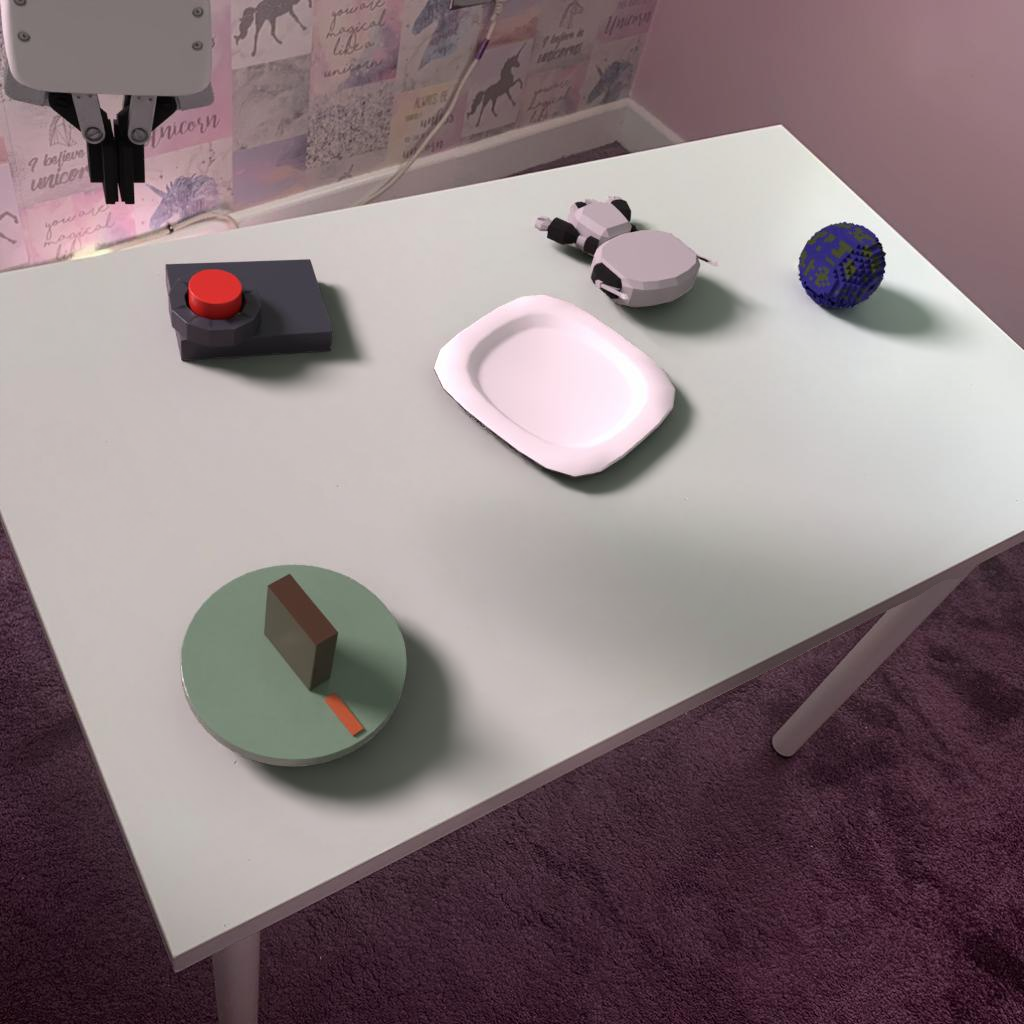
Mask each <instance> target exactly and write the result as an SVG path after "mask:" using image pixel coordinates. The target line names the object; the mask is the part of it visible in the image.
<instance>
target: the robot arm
mask: <svg viewBox="0 0 1024 1024" xmlns="http://www.w3.org/2000/svg"><path fill="white" fill-rule="evenodd" d="M0 24H1V30H2V36H3V44H4V47H5V53H6V57H5V58H6V59H5V65H4V70H3V76H2V77H3V87H4V93H5V95H6V96H7V97H8V98H9V99H11V100H13V101H17V102H20V103H21V102H22V103H26V104H29V105H34V106H39V107H43V108H44V107H49V108H51V109H52V110H53V111H54V112H55V113H56V114H57V115H59V116H61V117H62V118H63V119H64V120H65V121H67V123H69V124H70V125H72V127H74V128H75V129H77V130H78V131H79V132H80V133H81V136H82V138H83V140H84V141H85V143H86V157H87V170H88V176H89V181H90V182H89V183H91V184H101V185H102V191H103V195H104V201H105V205H116V203H120V201H121V203H124V204H125V205H135V204H136V201H135V200H136V199H135V184H146V161H145V160H146V159H145V144H147V143H148V142H149V141H150V139H151V136H152V132H153V131H154V130H156V129H157V128H158V127H159V126H161V125H162V124H163V123H165V121H166V120H167V119H169V118H170V117H171V116H172V115H174V114H175V113H176V111H180V110H181V112H184V111H188V110H194V109H199V108H205V107H209V106H211V105H212V104H214V102H215V94H214V89H213V85H212V82H211V81H212V80H211V78H212V71H213V33H212V32H213V31H212V7H211V0H0ZM99 95H110V96H112V95H115V96H122V102H121V103H122V104H121V110H119V111H118V112H117V113H116V118H113V119H112V120H111V118H109V116H108V113H107V111H105V110H104V108H101V104H100V99H99Z"/></svg>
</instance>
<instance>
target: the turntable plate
mask: <svg viewBox="0 0 1024 1024" xmlns="http://www.w3.org/2000/svg"><path fill="white" fill-rule="evenodd" d="M181 645H182V646H181V650H180V678H181V686H182V689H183V694H184V697H185V700H186V702H187V704H188V707H189V709H190V710H191V713H192V714H193V716H194V717H195V719H196V720H197V722H198V723H199V724H200V725H201V727H202V728H203V729H204V730H205V731H206V733H207V734H209V735H210V736H211V737H212V738H213V739H214V740H216V742H218V743H219V744H221V745H222V746H224V747H225V748H226V749H228V750H230V751H232V752H233V753H235V754H238V755H239V756H241V757H243V758H246V759H249V760H252V761H255V762H258V763H263V764H267V765H272V766H279V767H309V766H313V765H319V764H324V763H328V762H331V761H334V760H338V759H340V758H342V757H344V756H346V755H348V754H351V753H352V752H354V751H356V750H357V749H359V748H362V747H363V746H364V745H365V744H367V743H368V742H369V741H370V740H372V739H373V738H374V737H375V736H376V735H377V734H378V733H379V732H380V731H381V730H382V729H383V728H384V727H385V725H386V724H387V723H388V721H389V720H390V719H391V717H392V716H393V714H394V712H395V710H396V709H397V706H398V705H399V701H400V698H401V695H402V694H403V690H404V686H405V682H406V676H407V666H408V659H407V658H408V657H407V648H406V644H405V640H404V635H403V633H402V631H401V629H400V625H399V624H398V622H397V621H396V619H395V616H393V613H392V612H391V611H390V609H389V608H388V606H387V605H386V604H385V603H384V602H383V600H381V598H379V597H378V596H377V595H376V594H375V593H374V592H372V591H371V590H370V589H369V588H368V587H366V586H365V585H363V584H361V583H360V582H358V581H357V580H355V579H354V578H351V577H349V576H347V575H345V574H343V573H341V572H338V571H335V570H331V569H328V568H324V567H319V566H314V565H305V564H282V565H280V564H279V565H273V566H269V567H268V566H267V567H264V568H259V569H256V570H253V571H250V572H247V573H245V574H242V575H239V576H238V577H235V578H234V579H232V580H230V581H229V582H227V583H225V584H223V585H222V586H220V587H219V588H218V589H217V590H216V591H215V592H214V593H212V594H211V595H209V597H208V598H207V599H206V600H205V601H204V602H203V603H202V604H201V606H200V607H199V608H198V609H197V611H196V612H195V614H194V615H193V617H192V619H191V621H190V623H189V624H188V626H187V630H186V632H185V634H184V638H183V641H182V644H181Z"/></svg>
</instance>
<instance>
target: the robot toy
mask: <svg viewBox="0 0 1024 1024" xmlns="http://www.w3.org/2000/svg"><path fill="white" fill-rule="evenodd" d="M631 219H632V209H631V207H630V206H629V203H628V201H627V200H624V199H623V198H622V197H621V196H618V195H616V196H612V195H608V196H607V197H606V199H605V202H604V201H598V200H596V199H594V198H593V199H592V198H591V199H590V198H585V200H584V201H576V202H573V203H572V205H571V206H570V209H569V214H568V218H567V221H566V220H564V219H562V218H560V217H554V218H553V219H551V218H549V216H544V215H540V216H538V217H537V218H536V219H535V220H534V223H533V224H534V225H533V226H534V228H535V229H537V231H540V232H547V233H546V234H547V235H546V238H547V239H549V240H550V241H553V242H554V243H558V244H560V245H562V246H563V245H564V246H565V245H574V246H575V247H576V248H577V249H579V250H580V251H581V252H583V253H586V254H588V255H589V256H591V257H593V258H592V261H591V265H590V269H589V273H590V279H591V282H592V284H593V285H594V287H596V288H597V289H599V290H600V291H602V292H603V294H604V295H606V296H607V297H608V298H609V299H611V300H613V301H614V302H616V303H617V304H618V305H622V306H625V307H626V306H627V307H630V308H631V307H632V308H645V307H653V306H656V305H662V304H664V303H665V304H666V303H671V302H674V301H676V300H677V299H678V298H680V297H682V296H683V295H685V294H687V293H688V292H689V291H690V290H691V289H692V288H693V287H694V284H695V281H696V279H697V276H698V273H699V270H700V267H701V263H700V261H703V262H705V263H707V264H710V266H712V267H719V263H718V261H716V260H712V259H709V258H707V257H705V256H702V255H701V254H698V253H696V252H695V250H693V249H692V248H691V247H689V246H688V245H687V244H686V243H684V242H683V241H682V240H681V239H680V238H678V237H677V236H675V235H674V234H673V233H672V232H668V231H663V230H658V229H645V230H643V229H642V230H639V229H638V227H637V225H636V224H633V223H631Z"/></svg>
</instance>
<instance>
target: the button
mask: <svg viewBox="0 0 1024 1024" xmlns="http://www.w3.org/2000/svg"><path fill="white" fill-rule="evenodd" d="M189 305H190V307H191V309H192V310H193V311H194V312H195V313H196V314H197V315H199V316H201V317H204V318H207V319H210V320H223V319H229V318H231V317H233V316H235V315H236V314H237V313H238V312H239V311H240V309H241V306H242V285H241V283H240V281H239V280H238V279H237V278H236V277H235V276H234V275H232V274H231V273H229V272H226V271H222V270H216V269H210V270H204V271H201V272H198V273H196V274H195V275H194V276H193V277H192V278H191V279H190V281H189Z"/></svg>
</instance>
